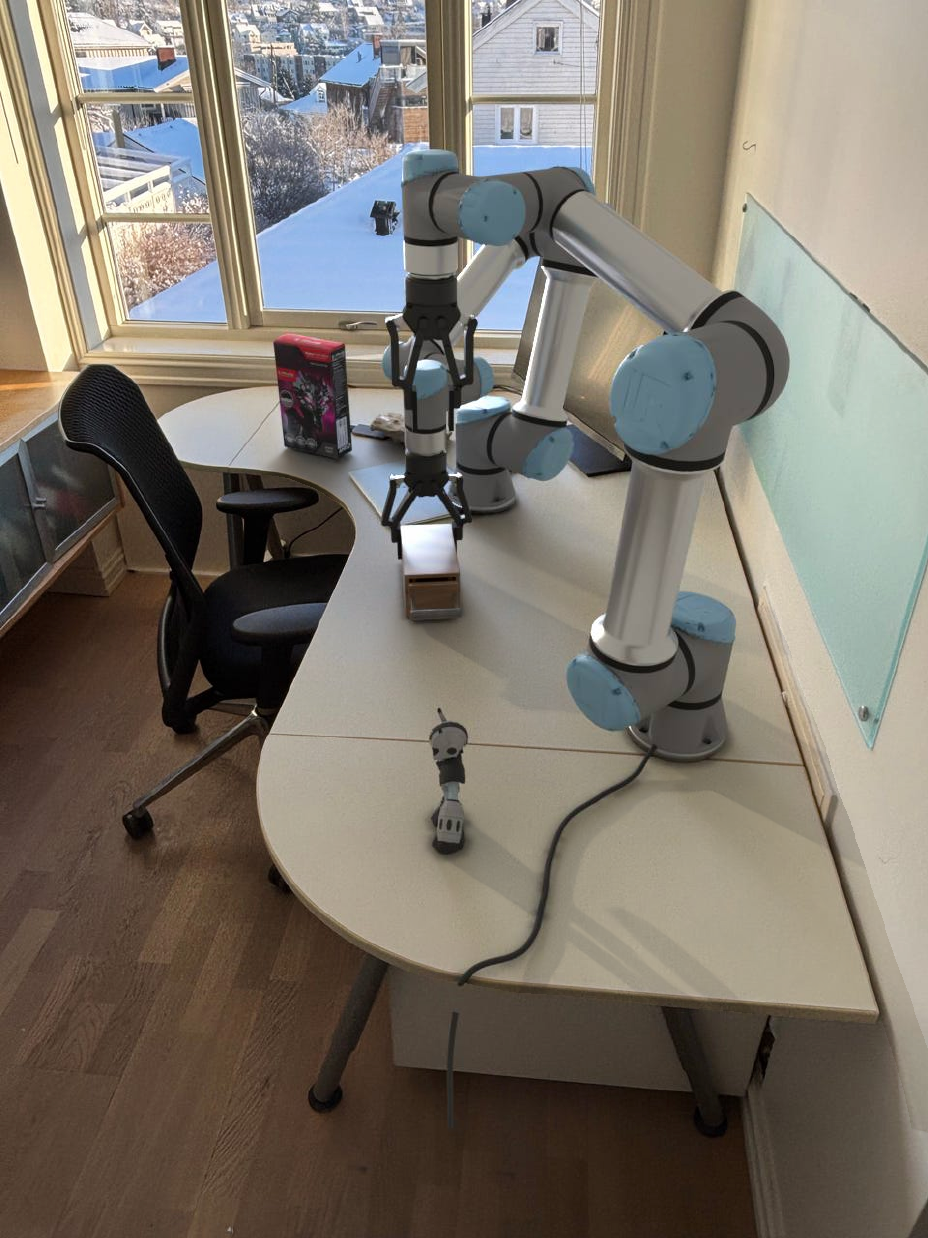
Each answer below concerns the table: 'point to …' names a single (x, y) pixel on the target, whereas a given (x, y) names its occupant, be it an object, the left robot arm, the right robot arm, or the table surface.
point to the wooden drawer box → (428, 555)
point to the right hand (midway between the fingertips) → (432, 428)
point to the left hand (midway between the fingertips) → (427, 554)
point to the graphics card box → (313, 395)
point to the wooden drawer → (433, 598)
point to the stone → (394, 426)
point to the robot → (449, 784)
